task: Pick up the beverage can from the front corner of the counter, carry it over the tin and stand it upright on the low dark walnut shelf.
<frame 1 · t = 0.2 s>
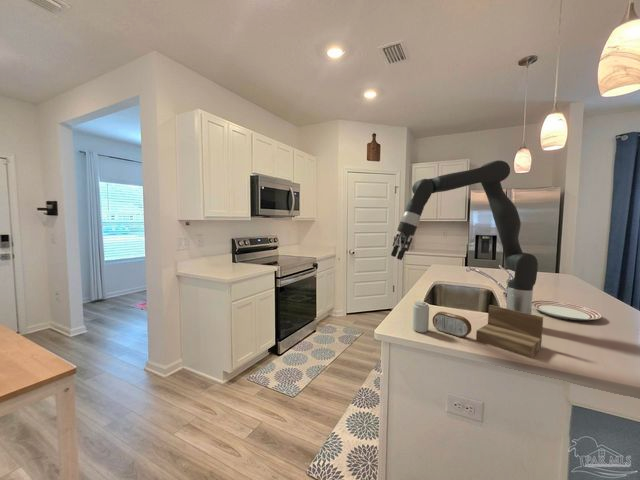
hand: (395, 257, 124), 30 cm above the countertop, tool tilted 20°, fingers open, 8 cm apart
tin: (450, 334, 117), on the countertop
dinner plate: (562, 314, 143), on the countertop
beverage can: (420, 330, 120), on the countertop
walnut shelf: (507, 344, 108), on the countertop
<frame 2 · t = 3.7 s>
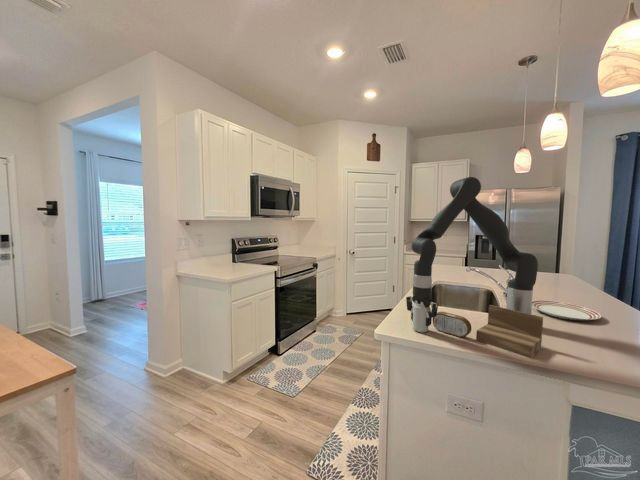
hand: (420, 323, 120), 3 cm above the countertop, tool pointing down, fingers closed on beverage can, 6 cm apart
beverage can: (420, 330, 120), on the countertop, touching gripper
everything else where it was.
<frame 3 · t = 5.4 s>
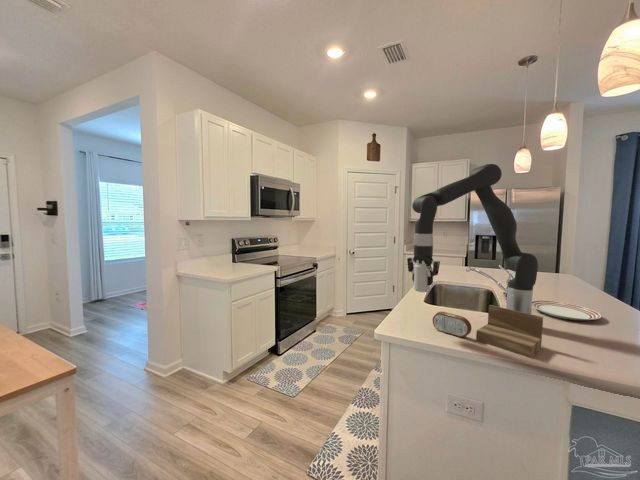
hand: (422, 283, 119), 21 cm above the countertop, tool pointing down, fingers closed on beverage can, 6 cm apart
beverage can: (421, 291, 119), point 17 cm above the countertop, touching gripper
everything else where it was.
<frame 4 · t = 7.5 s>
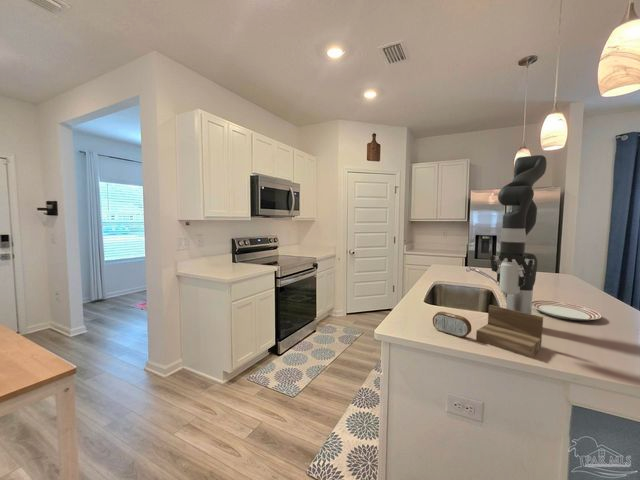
hand: (510, 284, 106), 23 cm above the countertop, tool pointing down, fingers closed on beverage can, 6 cm apart
beverage can: (509, 293, 106), point 20 cm above the countertop, touching gripper
everything else where it was.
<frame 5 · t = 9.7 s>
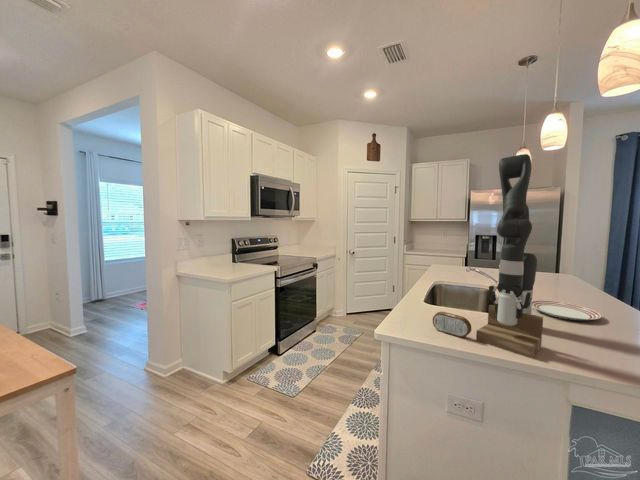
hand: (508, 315, 107), 11 cm above the countertop, tool pointing down, fingers closed on beverage can, 6 cm apart
beverage can: (506, 323, 107), point 8 cm above the countertop, touching gripper
everything else where it was.
when the fingers open (9 cm above the countertop, at t = 11.3 s): beverage can drops 1 cm, resting on walnut shelf.
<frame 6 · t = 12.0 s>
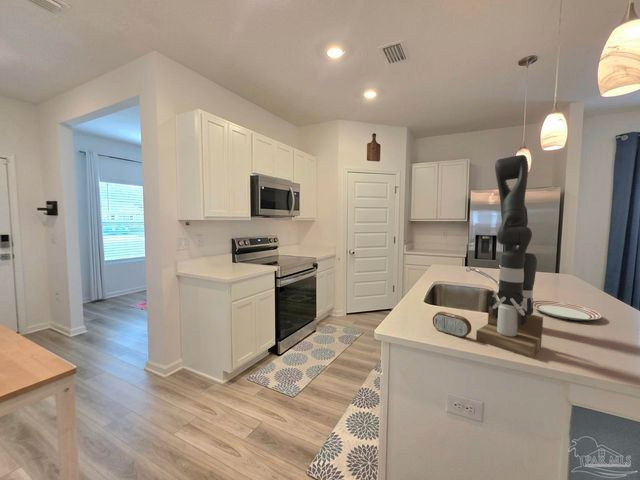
hand: (508, 321, 107), 9 cm above the countertop, tool pointing down, fingers open, 8 cm apart
beverage can: (506, 334, 107), point 4 cm above the countertop, touching walnut shelf
everything else where it was.
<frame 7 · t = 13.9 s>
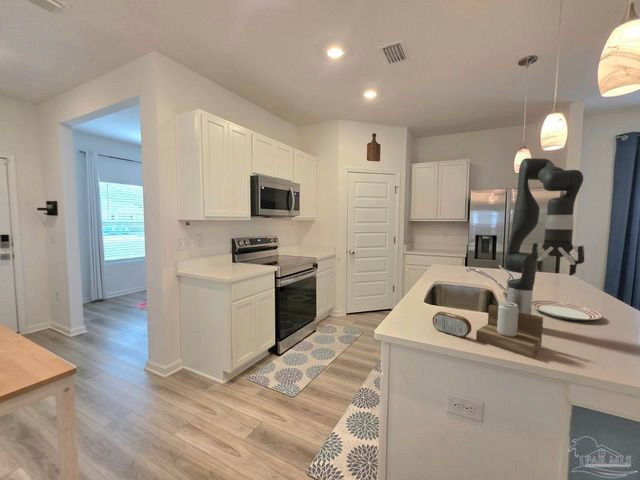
hand: (555, 273, 100), 29 cm above the countertop, tool pointing down, fingers open, 8 cm apart
nothing on the countertop moved.
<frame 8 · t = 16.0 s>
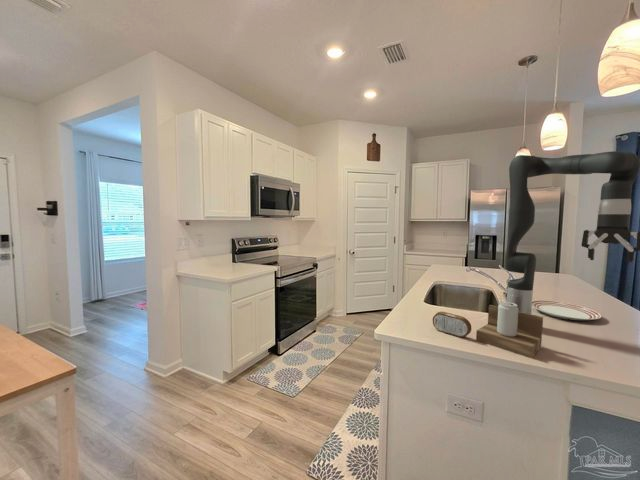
hand: (609, 261, 94), 34 cm above the countertop, tool pointing down, fingers open, 8 cm apart
nothing on the countertop moved.
at the end: beverage can inside the target area on the walnut shelf (0.6 cm from its centre), point 3.8 cm above the walnut shelf's base; beverage can tilted 0°; the gripper is holding nothing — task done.
